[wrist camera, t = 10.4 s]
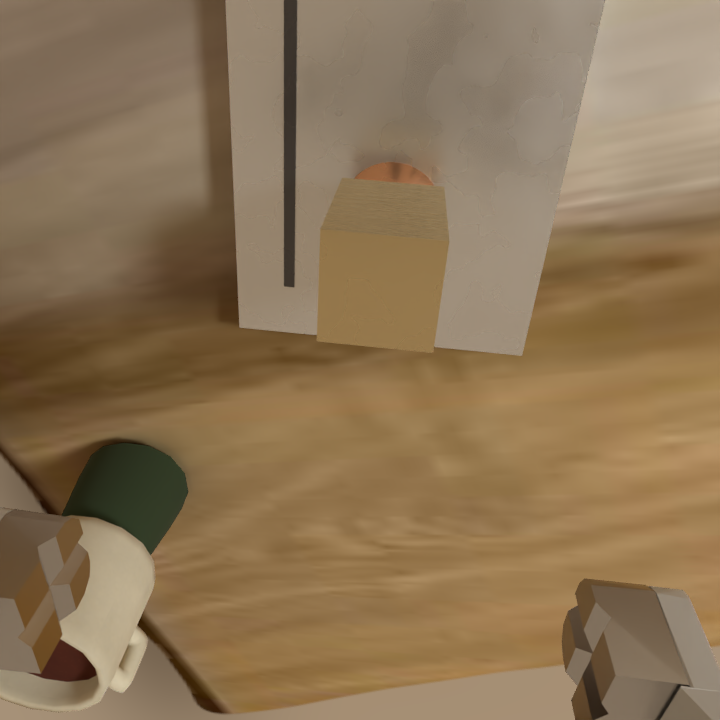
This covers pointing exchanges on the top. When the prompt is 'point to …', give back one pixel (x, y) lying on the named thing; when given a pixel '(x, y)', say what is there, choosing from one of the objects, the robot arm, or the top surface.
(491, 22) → the bolt plate
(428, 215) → the wooden block peg
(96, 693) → the character mug
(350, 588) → the top surface
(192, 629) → the top surface
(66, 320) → the top surface
